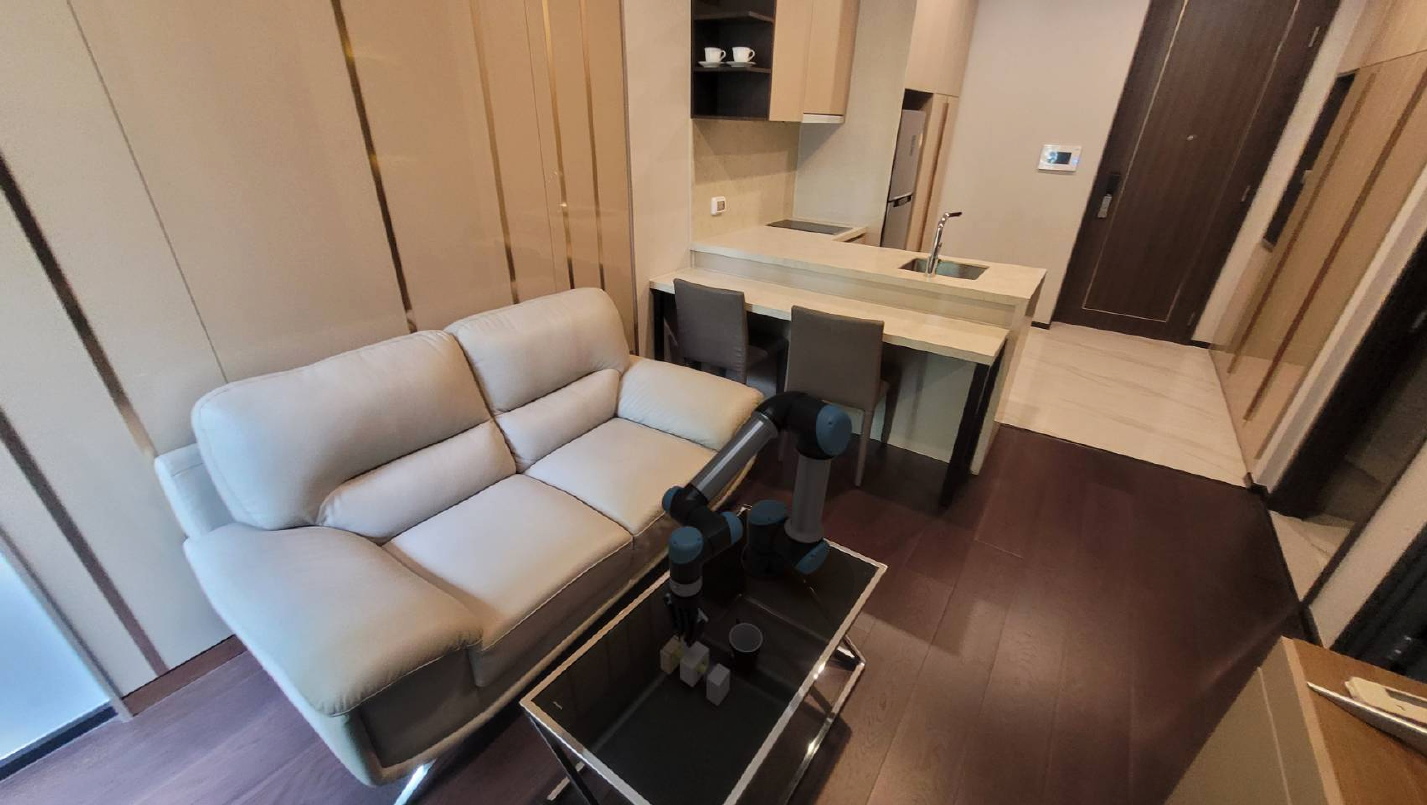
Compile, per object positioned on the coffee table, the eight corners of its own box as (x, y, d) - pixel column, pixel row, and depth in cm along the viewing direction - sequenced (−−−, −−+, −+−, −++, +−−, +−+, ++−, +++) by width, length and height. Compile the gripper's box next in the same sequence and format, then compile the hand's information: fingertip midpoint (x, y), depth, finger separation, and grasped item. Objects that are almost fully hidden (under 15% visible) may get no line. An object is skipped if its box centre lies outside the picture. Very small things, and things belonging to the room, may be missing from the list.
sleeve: (680, 678, 133) (679, 660, 130) (696, 658, 138) (696, 640, 135) (692, 687, 131) (692, 669, 128) (708, 666, 136) (709, 648, 133)
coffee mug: (757, 680, 136) (760, 655, 131) (725, 673, 137) (726, 648, 132) (763, 641, 146) (765, 617, 141) (732, 636, 147) (734, 611, 142)
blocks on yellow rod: (660, 668, 138) (660, 648, 134) (675, 652, 142) (674, 632, 139) (716, 707, 129) (717, 687, 125) (730, 689, 133) (731, 669, 130)
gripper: (654, 582, 122) (657, 648, 134) (698, 609, 116) (697, 676, 127) (674, 563, 128) (675, 628, 139) (717, 588, 121) (715, 654, 132)
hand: (686, 651), depth 133 cm, fingers closed
